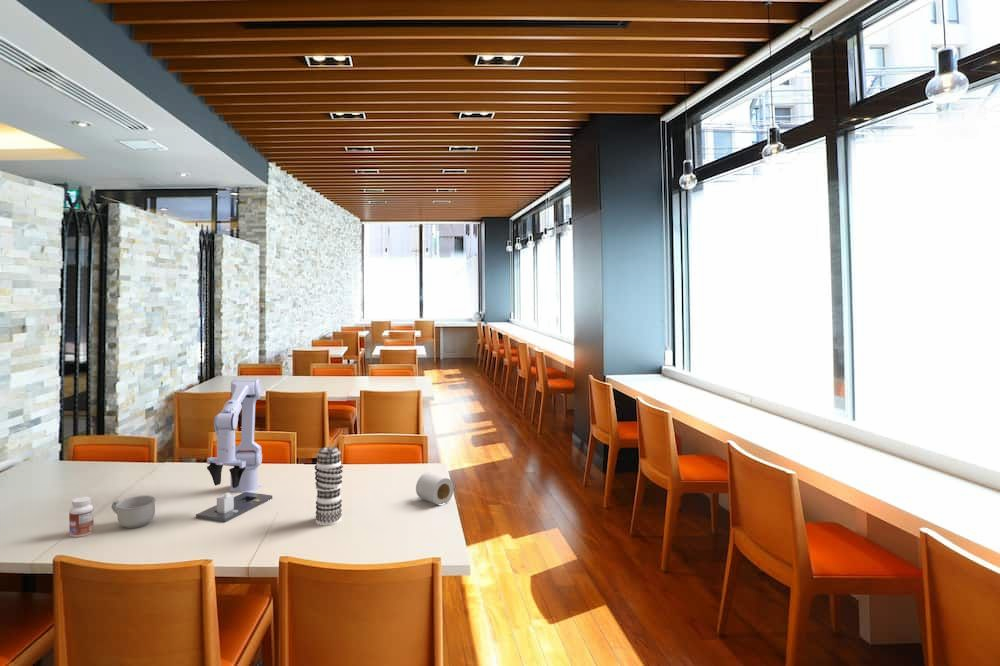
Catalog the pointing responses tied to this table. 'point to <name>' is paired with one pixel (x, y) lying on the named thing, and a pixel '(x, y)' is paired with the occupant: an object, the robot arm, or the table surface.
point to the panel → (235, 507)
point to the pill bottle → (81, 517)
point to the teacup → (135, 510)
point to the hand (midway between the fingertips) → (226, 485)
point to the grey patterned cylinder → (328, 486)
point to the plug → (225, 503)
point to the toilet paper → (434, 488)
